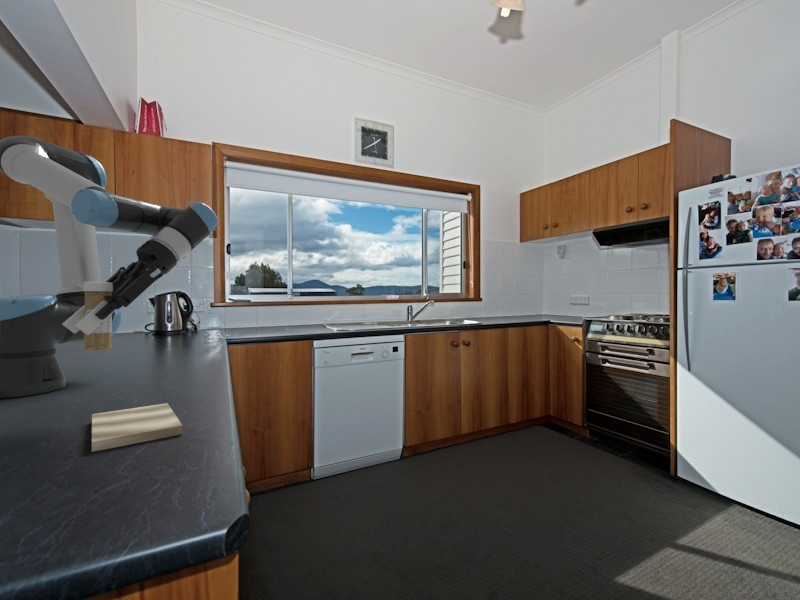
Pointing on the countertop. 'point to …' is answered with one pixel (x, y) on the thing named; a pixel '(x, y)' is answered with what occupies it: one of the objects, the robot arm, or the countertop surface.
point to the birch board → (133, 426)
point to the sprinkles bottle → (102, 333)
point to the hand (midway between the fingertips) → (75, 329)
